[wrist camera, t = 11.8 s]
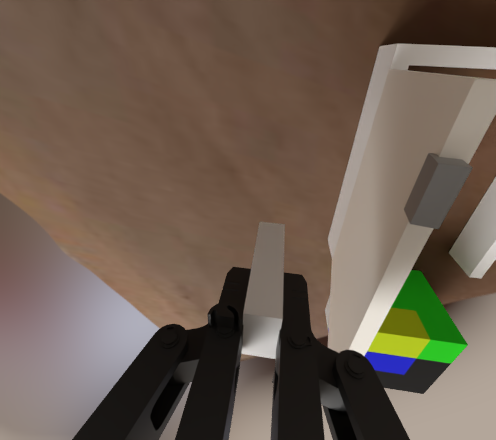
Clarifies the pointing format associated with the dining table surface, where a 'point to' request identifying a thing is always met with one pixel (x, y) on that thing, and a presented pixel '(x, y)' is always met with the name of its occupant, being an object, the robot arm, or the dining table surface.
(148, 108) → the dining table surface
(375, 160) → the cover
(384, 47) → the white hinged box
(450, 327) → the puzzle toy
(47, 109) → the dining table surface
